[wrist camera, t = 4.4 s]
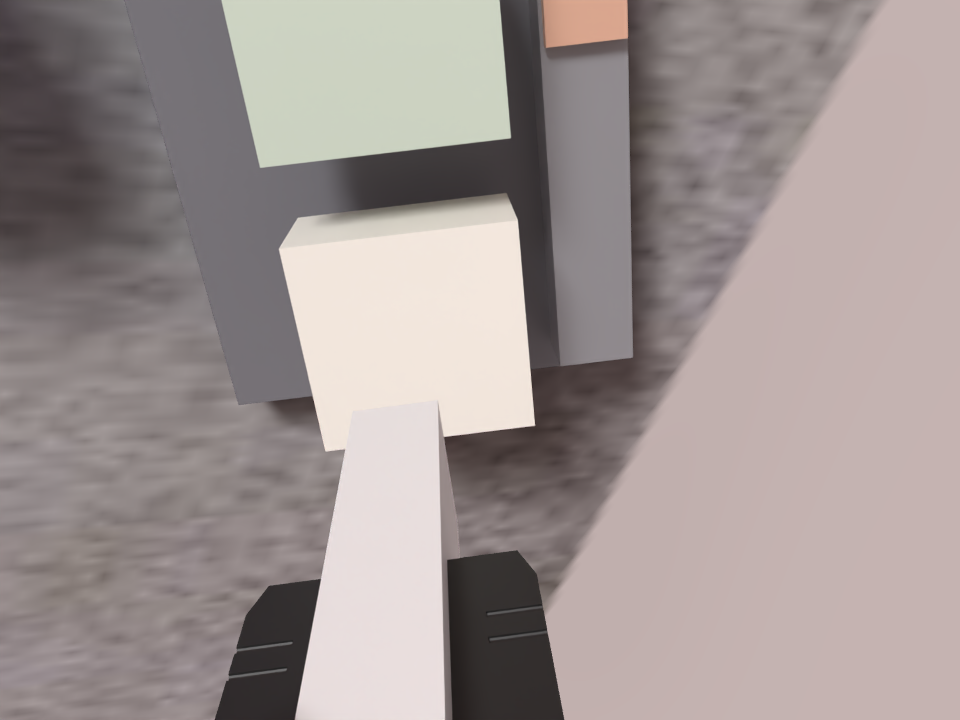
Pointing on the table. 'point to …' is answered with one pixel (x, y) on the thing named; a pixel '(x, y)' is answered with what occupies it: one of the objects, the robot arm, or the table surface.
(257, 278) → the keypad
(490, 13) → the sage key
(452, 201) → the ivory key
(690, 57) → the table surface
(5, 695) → the table surface
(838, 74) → the table surface
